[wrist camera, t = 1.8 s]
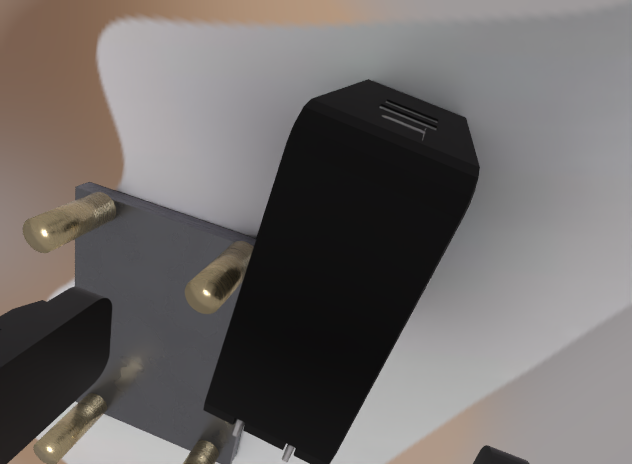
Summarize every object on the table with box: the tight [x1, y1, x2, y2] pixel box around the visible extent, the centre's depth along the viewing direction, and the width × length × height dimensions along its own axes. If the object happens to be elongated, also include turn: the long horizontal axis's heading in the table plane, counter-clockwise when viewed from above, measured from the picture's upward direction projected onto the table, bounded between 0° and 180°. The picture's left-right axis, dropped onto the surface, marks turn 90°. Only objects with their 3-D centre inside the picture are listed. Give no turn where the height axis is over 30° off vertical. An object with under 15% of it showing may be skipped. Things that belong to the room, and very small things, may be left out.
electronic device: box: [203, 79, 480, 464], centre depth 16 cm, size 4×10×10 cm, turn 160°
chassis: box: [23, 182, 256, 464], centre depth 24 cm, size 15×11×5 cm
